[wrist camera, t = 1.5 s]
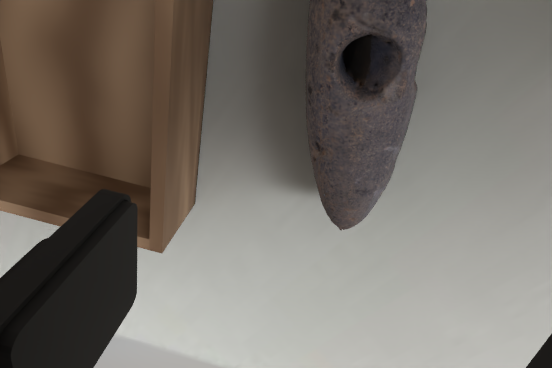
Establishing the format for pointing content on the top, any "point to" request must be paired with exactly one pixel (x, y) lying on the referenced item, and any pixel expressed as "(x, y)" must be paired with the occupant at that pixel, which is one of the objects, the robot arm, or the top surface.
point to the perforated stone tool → (359, 97)
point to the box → (103, 107)
